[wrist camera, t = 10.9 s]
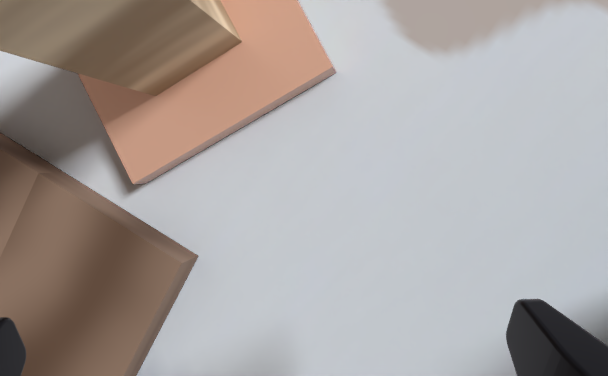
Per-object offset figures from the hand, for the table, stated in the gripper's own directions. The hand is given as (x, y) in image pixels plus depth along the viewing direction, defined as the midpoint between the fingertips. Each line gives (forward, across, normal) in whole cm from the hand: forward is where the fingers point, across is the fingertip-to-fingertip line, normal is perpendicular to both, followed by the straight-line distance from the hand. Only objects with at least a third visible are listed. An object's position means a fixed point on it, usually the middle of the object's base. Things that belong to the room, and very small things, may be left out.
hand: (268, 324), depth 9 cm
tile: (+14, +4, -2) cm, 14 cm away
